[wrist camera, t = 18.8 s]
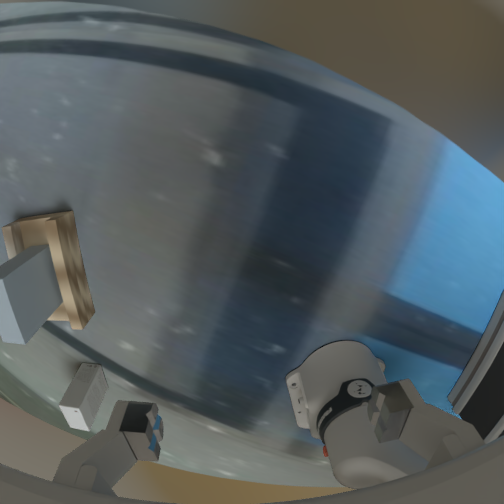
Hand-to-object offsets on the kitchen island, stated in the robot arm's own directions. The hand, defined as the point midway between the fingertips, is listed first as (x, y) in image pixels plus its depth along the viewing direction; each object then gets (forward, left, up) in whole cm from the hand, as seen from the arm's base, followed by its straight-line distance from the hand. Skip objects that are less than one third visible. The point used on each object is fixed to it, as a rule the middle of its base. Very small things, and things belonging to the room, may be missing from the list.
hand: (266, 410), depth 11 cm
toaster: (-36, -57, -36) cm, 76 cm away
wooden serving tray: (-7, +31, -35) cm, 47 cm away
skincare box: (-29, +30, -35) cm, 55 cm away
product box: (-7, +31, -32) cm, 45 cm away
